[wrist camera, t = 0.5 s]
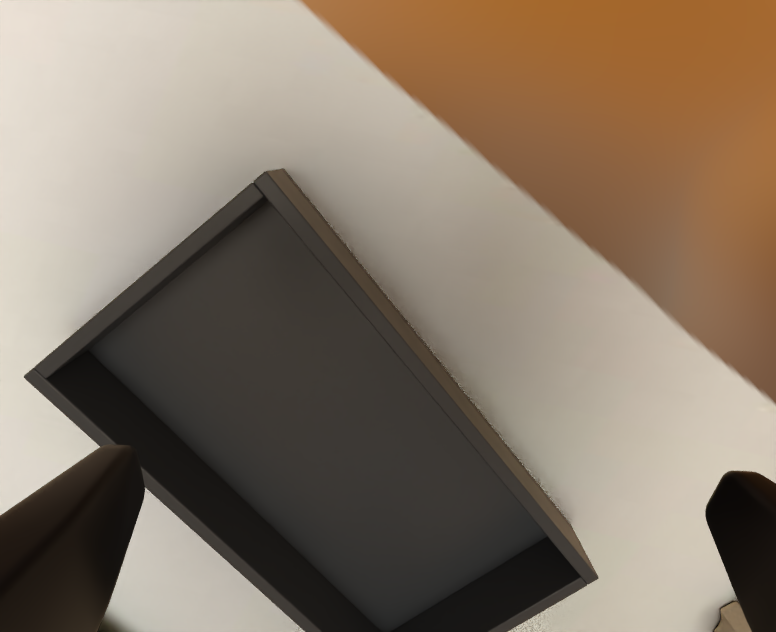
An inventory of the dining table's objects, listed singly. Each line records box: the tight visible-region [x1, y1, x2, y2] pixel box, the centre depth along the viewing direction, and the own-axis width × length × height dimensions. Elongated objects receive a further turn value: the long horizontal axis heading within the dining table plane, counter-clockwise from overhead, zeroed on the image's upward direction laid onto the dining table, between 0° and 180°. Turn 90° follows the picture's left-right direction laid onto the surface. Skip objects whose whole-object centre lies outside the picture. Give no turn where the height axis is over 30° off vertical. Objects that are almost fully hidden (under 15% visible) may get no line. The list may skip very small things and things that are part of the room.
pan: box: [24, 169, 598, 632], centre depth 22 cm, size 12×22×3 cm, turn 38°
